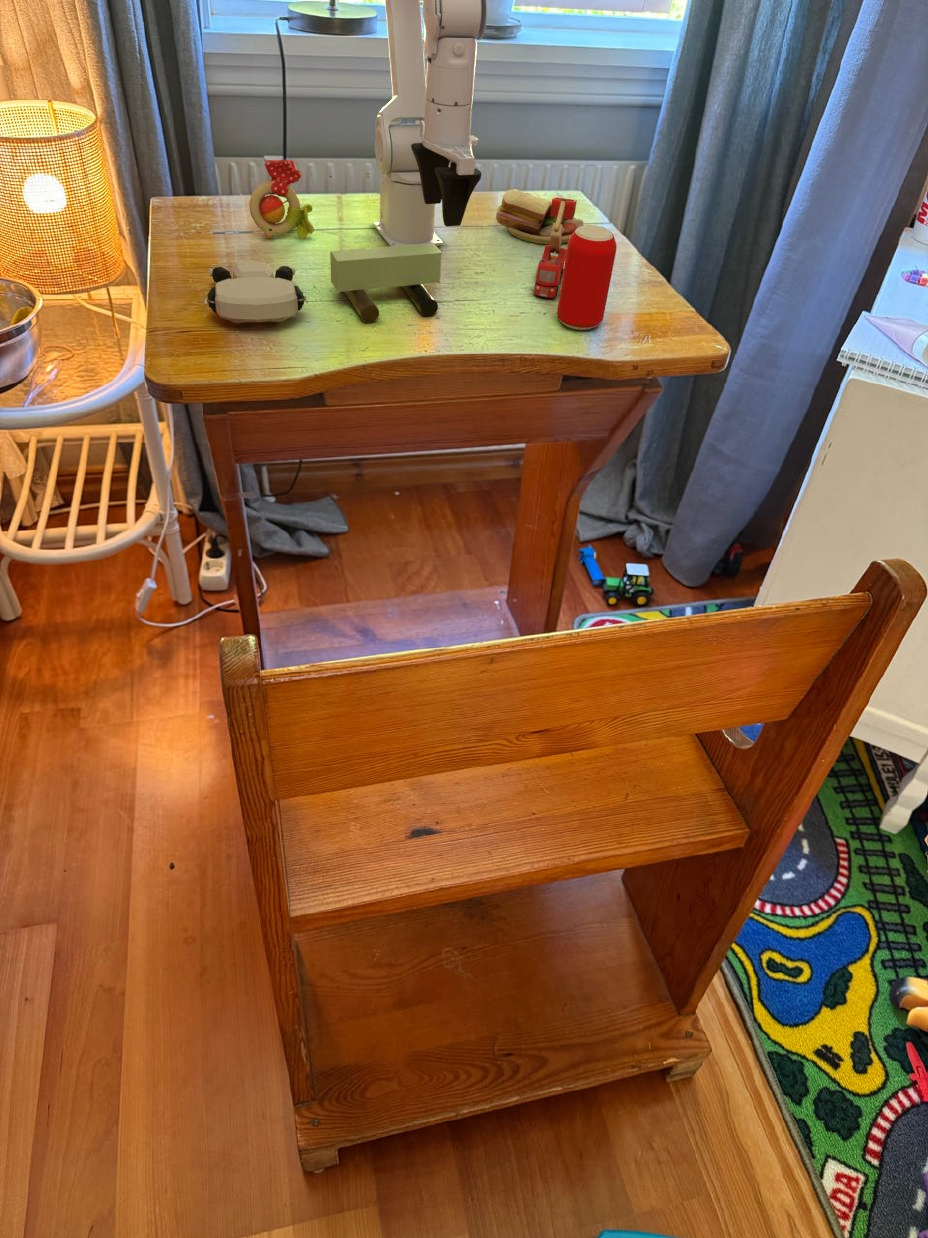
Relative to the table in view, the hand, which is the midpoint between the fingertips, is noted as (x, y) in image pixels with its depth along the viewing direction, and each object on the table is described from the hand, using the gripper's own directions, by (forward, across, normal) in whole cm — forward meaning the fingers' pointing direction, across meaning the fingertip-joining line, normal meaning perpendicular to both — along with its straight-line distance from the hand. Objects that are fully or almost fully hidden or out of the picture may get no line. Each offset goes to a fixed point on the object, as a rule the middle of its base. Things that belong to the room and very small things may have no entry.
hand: (442, 213), depth 121 cm
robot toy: (+10, -3, +26) cm, 28 cm away
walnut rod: (+9, -4, +13) cm, 16 cm away
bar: (+7, -4, +9) cm, 12 cm away
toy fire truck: (+10, -2, -16) cm, 19 cm away
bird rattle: (+10, +19, +17) cm, 27 cm away
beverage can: (+10, -15, -14) cm, 23 cm away
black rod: (+9, -4, +5) cm, 11 cm away
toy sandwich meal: (+10, +15, -22) cm, 28 cm away
